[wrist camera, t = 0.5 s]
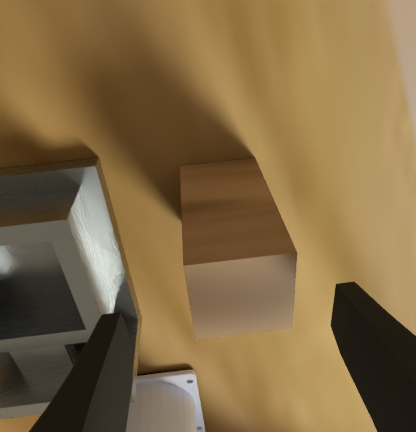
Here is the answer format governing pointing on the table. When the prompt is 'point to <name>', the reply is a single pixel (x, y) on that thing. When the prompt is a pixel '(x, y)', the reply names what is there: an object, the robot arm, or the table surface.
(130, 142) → the table surface
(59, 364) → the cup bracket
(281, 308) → the brown rectangular block
